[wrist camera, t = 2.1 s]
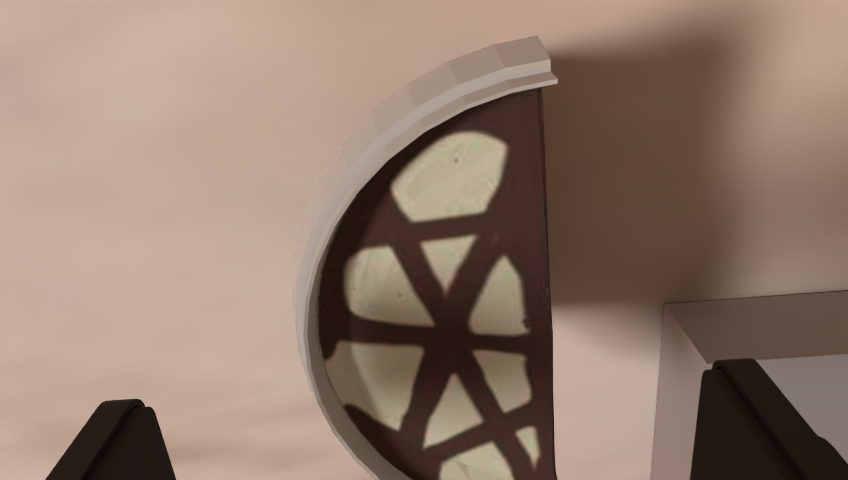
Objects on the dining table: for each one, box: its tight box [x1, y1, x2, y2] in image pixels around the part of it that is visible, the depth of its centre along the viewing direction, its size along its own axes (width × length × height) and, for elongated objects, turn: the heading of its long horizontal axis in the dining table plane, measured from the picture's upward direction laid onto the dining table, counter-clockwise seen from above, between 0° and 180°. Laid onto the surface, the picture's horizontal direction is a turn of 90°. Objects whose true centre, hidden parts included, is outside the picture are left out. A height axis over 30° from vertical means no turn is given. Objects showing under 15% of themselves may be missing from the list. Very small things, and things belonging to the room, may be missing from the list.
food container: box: [293, 36, 558, 480], centre depth 18 cm, size 12×6×10 cm, turn 6°
